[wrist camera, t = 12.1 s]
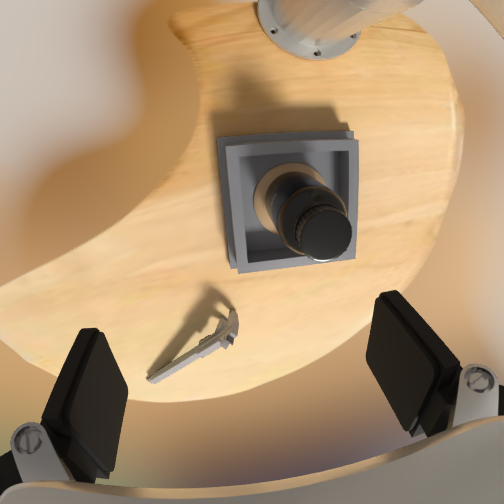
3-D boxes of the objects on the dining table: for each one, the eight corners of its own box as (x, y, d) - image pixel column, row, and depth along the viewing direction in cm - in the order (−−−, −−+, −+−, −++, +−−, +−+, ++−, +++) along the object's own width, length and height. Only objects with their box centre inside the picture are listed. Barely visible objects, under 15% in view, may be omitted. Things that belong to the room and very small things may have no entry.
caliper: (231, 306, 43) (234, 334, 37) (237, 310, 44) (241, 338, 38) (146, 378, 47) (142, 406, 42) (151, 381, 48) (147, 409, 42)
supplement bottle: (253, 188, 35) (272, 220, 24) (305, 160, 35) (347, 179, 24) (279, 237, 38) (307, 286, 27) (328, 210, 37) (373, 248, 26)
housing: (216, 137, 34) (216, 139, 30) (350, 130, 35) (364, 133, 31) (230, 265, 40) (232, 280, 37) (348, 250, 41) (360, 263, 38)
